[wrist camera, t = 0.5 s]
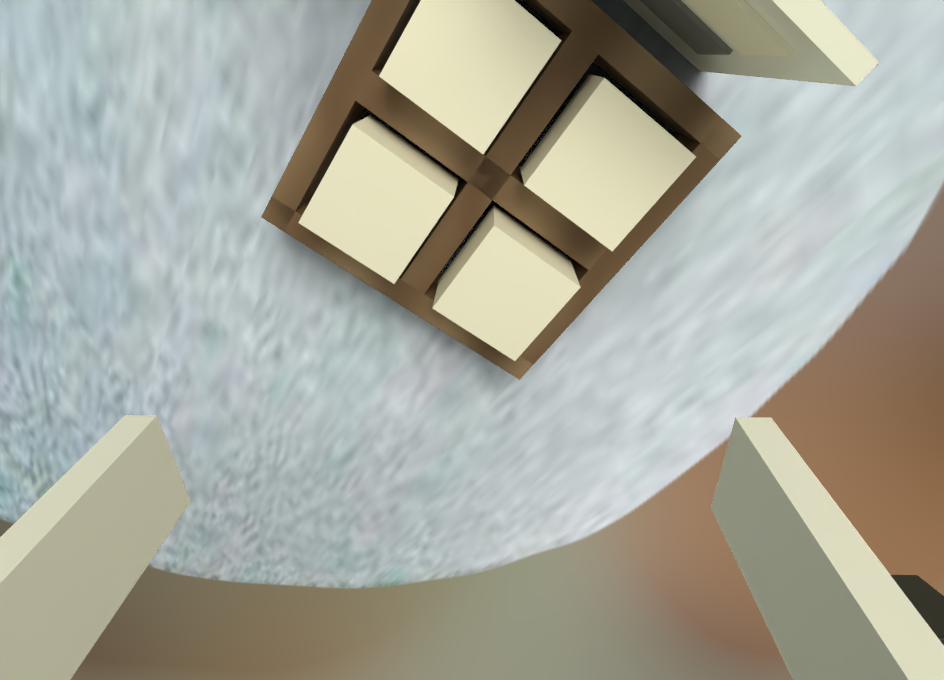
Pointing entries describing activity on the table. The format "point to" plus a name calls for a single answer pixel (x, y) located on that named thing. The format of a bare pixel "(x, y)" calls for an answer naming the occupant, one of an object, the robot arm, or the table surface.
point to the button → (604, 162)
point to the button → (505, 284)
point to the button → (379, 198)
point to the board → (496, 157)
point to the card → (761, 38)
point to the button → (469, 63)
